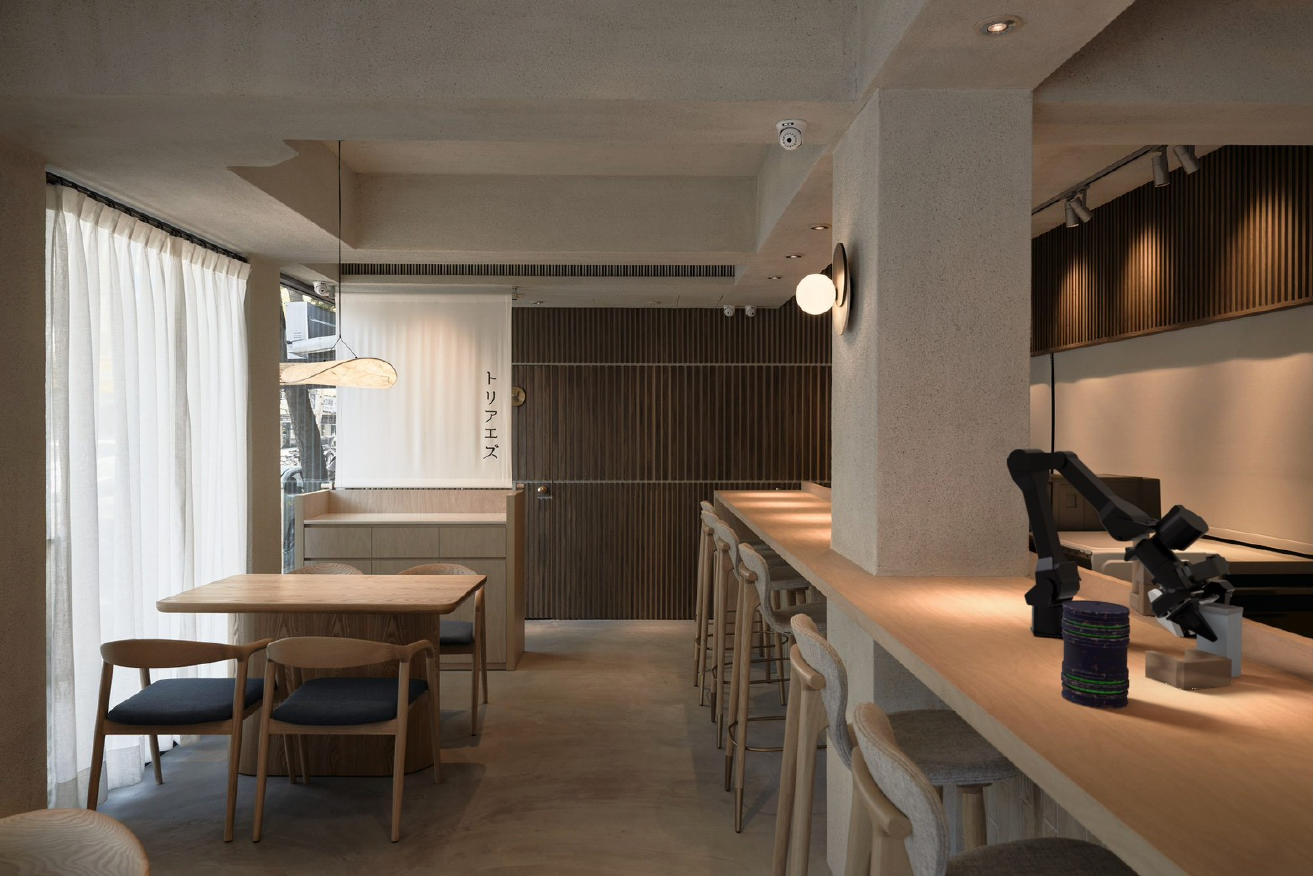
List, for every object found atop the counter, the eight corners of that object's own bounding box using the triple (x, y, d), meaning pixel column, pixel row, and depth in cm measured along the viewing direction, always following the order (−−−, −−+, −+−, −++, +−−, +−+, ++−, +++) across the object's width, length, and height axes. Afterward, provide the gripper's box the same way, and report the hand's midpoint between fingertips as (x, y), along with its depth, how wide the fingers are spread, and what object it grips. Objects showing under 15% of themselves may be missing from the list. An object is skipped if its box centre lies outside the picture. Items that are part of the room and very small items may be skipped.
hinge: (1205, 639, 182) (1187, 592, 183) (1180, 645, 183) (1163, 598, 184) (1182, 621, 198) (1165, 578, 199) (1159, 627, 199) (1143, 584, 200)
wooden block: (1142, 615, 204) (1144, 537, 204) (1129, 606, 214) (1130, 532, 214) (1160, 616, 203) (1161, 538, 203) (1145, 607, 213) (1146, 532, 213)
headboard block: (1145, 676, 154) (1145, 651, 154) (1191, 672, 157) (1191, 647, 157) (1183, 690, 147) (1184, 663, 147) (1231, 685, 149) (1231, 659, 149)
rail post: (1195, 672, 157) (1196, 605, 157) (1210, 668, 160) (1211, 602, 160) (1226, 679, 153) (1227, 610, 153) (1241, 675, 156) (1243, 607, 155)
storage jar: (1126, 713, 135) (1128, 615, 135) (1056, 702, 140) (1057, 608, 140) (1131, 696, 143) (1132, 604, 143) (1065, 686, 149) (1066, 597, 148)
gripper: (1169, 543, 155) (1236, 618, 145) (1224, 536, 164) (1290, 606, 155) (1124, 580, 161) (1185, 654, 152) (1180, 572, 171) (1240, 641, 162)
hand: (1227, 638), depth 155 cm, fingers open, 8 cm apart
